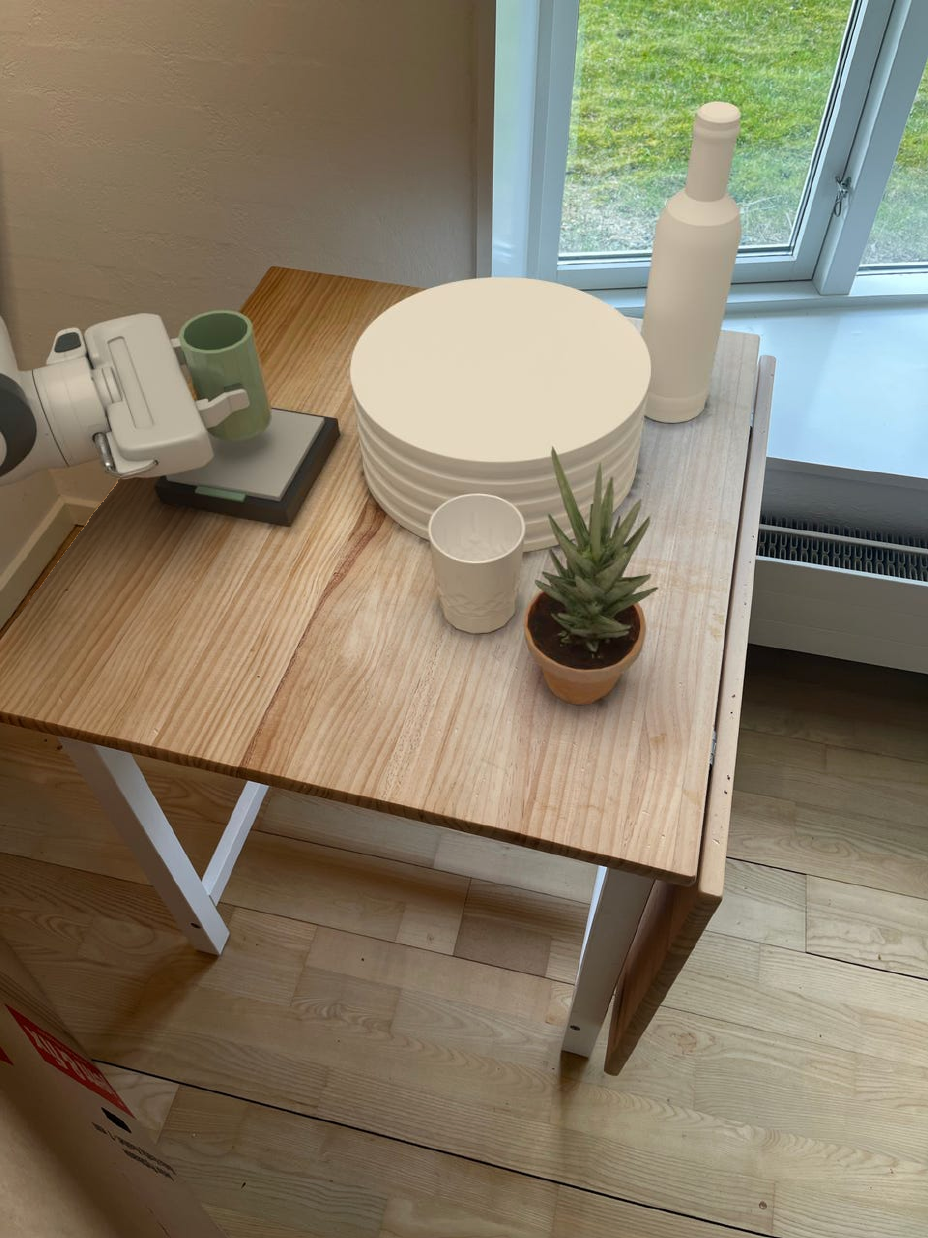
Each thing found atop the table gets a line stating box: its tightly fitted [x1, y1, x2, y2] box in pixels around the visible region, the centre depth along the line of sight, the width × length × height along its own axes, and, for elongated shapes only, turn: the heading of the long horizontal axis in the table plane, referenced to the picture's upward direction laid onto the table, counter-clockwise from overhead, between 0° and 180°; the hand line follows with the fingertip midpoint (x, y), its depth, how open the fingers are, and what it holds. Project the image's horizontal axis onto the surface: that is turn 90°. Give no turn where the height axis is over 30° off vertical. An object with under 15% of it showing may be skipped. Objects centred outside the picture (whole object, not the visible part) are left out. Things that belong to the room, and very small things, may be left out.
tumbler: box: [177, 309, 272, 441], centre depth 88 cm, size 6×6×10 cm
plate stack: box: [349, 276, 651, 553], centre depth 93 cm, size 28×28×12 cm
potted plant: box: [523, 446, 659, 706], centre depth 70 cm, size 10×10×25 cm
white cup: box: [428, 493, 525, 634], centre depth 81 cm, size 8×8×10 cm
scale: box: [153, 406, 341, 528], centre depth 96 cm, size 14×14×3 cm
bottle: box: [640, 101, 743, 424], centre depth 90 cm, size 8×8×30 cm
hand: (235, 369), depth 88 cm, fingers closed on tumbler, 6 cm apart
